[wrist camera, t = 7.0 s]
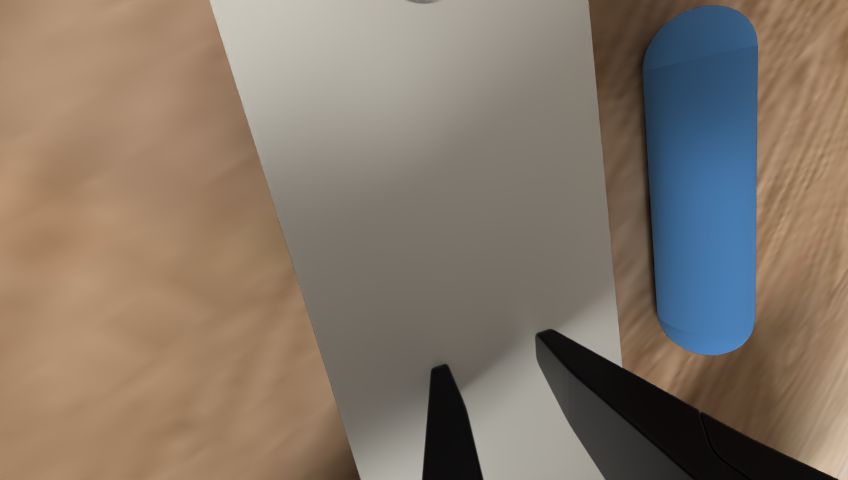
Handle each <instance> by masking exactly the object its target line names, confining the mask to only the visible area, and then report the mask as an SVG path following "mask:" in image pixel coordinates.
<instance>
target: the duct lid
mask: <svg viewBox="0 0 848 480" xmlns="http://www.w3.org/2000/svg"><path fill="white" fill-rule="evenodd" d="M210 3H211V6H212V9H213V12H214V16H215V19H216V22H217V25H218V28H219V31H220V35H221V38H222V41H223V44H224V47H225V51H226V54H227V57H228V60H229V63H230V66H231V70H232V73H233V76H234V79H235V82H236V85H237V89H238V92H239V95H240V98H241V101H242V104H243V108H244V111H245V114H246V117H247V120H248V124H249V127H250V130H251V133H252V136H253V139H254V143H255V146H256V149H257V152H258V155H259V158H260V162H261V165H262V168H263V171H264V174H265V177H266V181H267V184H268V187H269V190H270V193H271V197H272V200H273V203H274V206H275V209H276V212H277V216H278V219H279V222H280V225H281V228H282V231H283V235H284V238H285V241H286V244H287V247H288V250H289V254H290V257H291V260H292V263H293V266H294V270H295V273H296V276H297V279H298V282H299V285H300V289H301V292H302V295H303V298H304V301H305V304H306V308H307V311H308V314H309V317H310V320H311V324H312V327H313V330H314V333H315V336H316V339H317V343H318V346H319V349H320V352H321V355H322V358H323V362H324V365H325V368H326V371H327V374H328V377H329V381H330V384H331V387H332V390H333V393H334V397H335V400H336V403H337V406H338V409H339V412H340V416H341V419H342V422H343V425H344V428H345V431H346V435H347V438H348V441H349V444H350V447H351V450H352V454H353V457H354V460H355V463H356V466H357V470H358V473H359V476H360V479H361V480H422V472H423V460H424V447H425V435H426V423H427V411H428V399H429V386H430V374H431V369H432V368H433V367H436V366H439V365H442V364H448V366H449V368H450V370H451V372H452V375H453V377H454V379H455V382H456V384H457V386H458V389H459V391H460V393H461V395H462V398H463V400H464V403H465V405H466V408H467V412H468V416H469V420H470V424H471V428H472V432H473V437H474V441H475V445H476V449H477V454H478V458H479V462H480V466H481V471H482V475H483V479H484V480H605V479H604V477H603V476H602V474H601V472H600V471H599V469H598V468H597V466H596V465H595V463H594V462H593V460H592V459H591V457H590V456H589V454H588V453H587V451H586V449H585V448H584V446H583V445H582V443H581V442H580V440H579V439H578V437H577V436H576V434H575V433H574V431H573V429H572V428H571V426H570V425H569V423H568V421H567V419H566V417H565V416H564V414H563V412H562V410H561V408H560V406H559V404H558V402H557V400H556V398H555V396H554V394H553V392H552V390H551V388H550V386H549V384H548V382H547V380H546V378H545V376H544V374H543V373H542V371H541V369H540V367H539V364H538V362H537V359H536V347H535V335H536V333H538V332H541V331H544V330H547V329H554V330H556V331H557V332H559V333H561V334H563V335H565V336H566V337H568V338H570V339H572V340H574V341H575V342H577V343H579V344H581V345H583V346H584V347H586V348H588V349H590V350H592V351H593V352H595V353H597V354H599V355H601V356H602V357H604V358H606V359H608V360H610V361H611V362H613V363H615V364H617V365H619V366H620V367H622V358H621V348H620V337H619V326H618V315H617V304H616V293H615V283H614V272H613V261H612V250H611V239H610V229H609V218H608V207H607V196H606V185H605V174H604V164H603V153H602V142H601V131H600V120H599V110H598V99H597V88H596V77H595V66H594V55H593V45H592V34H591V23H590V12H589V1H588V0H210Z"/></svg>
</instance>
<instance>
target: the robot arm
mask: <svg viewBox="0 0 848 480" xmlns="http://www.w3.org/2000/svg"><path fill="white" fill-rule="evenodd" d="M535 347H536V359H537V362H538V364H539V367H540V369H541V371H542V373H543V374H544V376H545V378H546V380H547V382H548V384H549V386H550V388H551V390H552V392H553V394H554V396H555V398H556V400H557V402H558V404H559V406H560V408H561V410H562V412H563V414H564V416H565V417H566V419H567V421H568V423H569V425H570V426H571V428H572V429H573V431H574V433H575V434H576V436H577V437H578V439H579V440H580V442H581V443H582V445H583V446H584V448H585V449H586V451H587V453H588V454H589V456H590V457H591V459H592V460H593V462H594V463H595V465H596V466H597V468H598V469H599V471H600V472H601V474H602V476H603V477H604V479H605V480H838V479H836V478H834V477H832V476H830V475H828V474H826V473H823V472H821V471H819V470H817V469H815V468H813V467H811V466H808V465H806V464H804V463H802V462H800V461H798V460H795V459H793V458H791V457H789V456H787V455H785V454H783V453H781V452H779V451H777V450H775V449H772V448H770V447H768V446H766V445H764V444H762V443H760V442H758V441H756V440H754V439H752V438H750V437H748V436H746V435H744V434H742V433H741V432H739V431H737V430H735V429H733V428H731V427H729V426H727V425H726V424H724V423H722V422H720V421H718V420H716V419H715V418H713V417H711V416H709V415H707V414H705V413H704V412H701V413H700V411H699V410H698V409H696V408H694V407H693V406H691V405H689V404H687V403H685V402H684V401H682V400H680V399H678V398H676V397H675V396H673V395H671V394H669V393H667V392H666V391H664V390H662V389H660V388H658V387H657V386H655V385H653V384H651V383H649V382H648V381H646V380H644V379H642V378H640V377H638V376H637V375H635V374H633V373H631V372H629V371H628V370H626V369H624V368H622V367H620V366H619V365H617V364H615V363H613V362H611V361H610V360H608V359H606V358H604V357H602V356H601V355H599V354H597V353H595V352H593V351H592V350H590V349H588V348H586V347H584V346H583V345H581V344H579V343H577V342H575V341H574V340H572V339H570V338H568V337H566V336H565V335H563V334H561V333H559V332H557V331H556V330H554V329H547V330H544V331H541V332H538V333H536V335H535ZM422 480H484V479H483V475H482V471H481V466H480V462H479V458H478V454H477V449H476V445H475V441H474V437H473V432H472V428H471V424H470V420H469V416H468V412H467V408H466V405H465V403H464V400H463V398H462V395H461V393H460V391H459V389H458V386H457V384H456V382H455V379H454V377H453V375H452V372H451V370H450V368H449V366H448V364H442V365H439V366H436V367H433V368H432V369H431V374H430V386H429V399H428V411H427V423H426V435H425V447H424V460H423V472H422Z"/></svg>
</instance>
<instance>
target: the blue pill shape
mask: <svg viewBox="0 0 848 480" xmlns="http://www.w3.org/2000/svg"><path fill="white" fill-rule="evenodd" d="M757 76H758V44H757V35H756V33H755V30H754V28H753V25H752V24H751V23H750V22H749V20H748V19H747V18H746V17H745V16H744V15H742V14H741V13H740V12H738V11H736V10H734V9H732V8H729V7H724V6H718V5H712V6H701V7H697V8H694V9H691V10H688V11H685V12H683V13H682V14H680V15H678V16H676V17H674V18H673V19H672V20H670V21H669V22H668V23H667V24H665V25H664V26H663V27H662V28H661V29H660V30H659V31H658V33H657V34H656V35H655V36H654V38H653V39H652V41H651V42H650V44H649V46H648V49H647V51H646V53H645V57H644V61H643V87H644V103H645V120H646V136H647V153H648V169H649V185H650V202H651V218H652V235H653V251H654V268H655V284H656V300H657V314H658V320H659V322H660V324H661V327H662V329H663V331H664V332H665V333H666V335H667V336H668V337H669V338H670V339H671V340H672V341H673V342H675V343H676V344H677V345H679V346H680V347H682V348H684V349H686V350H688V351H691V352H693V353H697V354H702V355H720V354H724V353H728V352H731V351H734V350H735V349H737V348H739V347H740V346H742V345H743V344H744V343H745V342H746V341H747V340H748V338H749V337H750V336H751V333H752V331H753V329H754V323H755V294H756V185H757Z"/></svg>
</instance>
